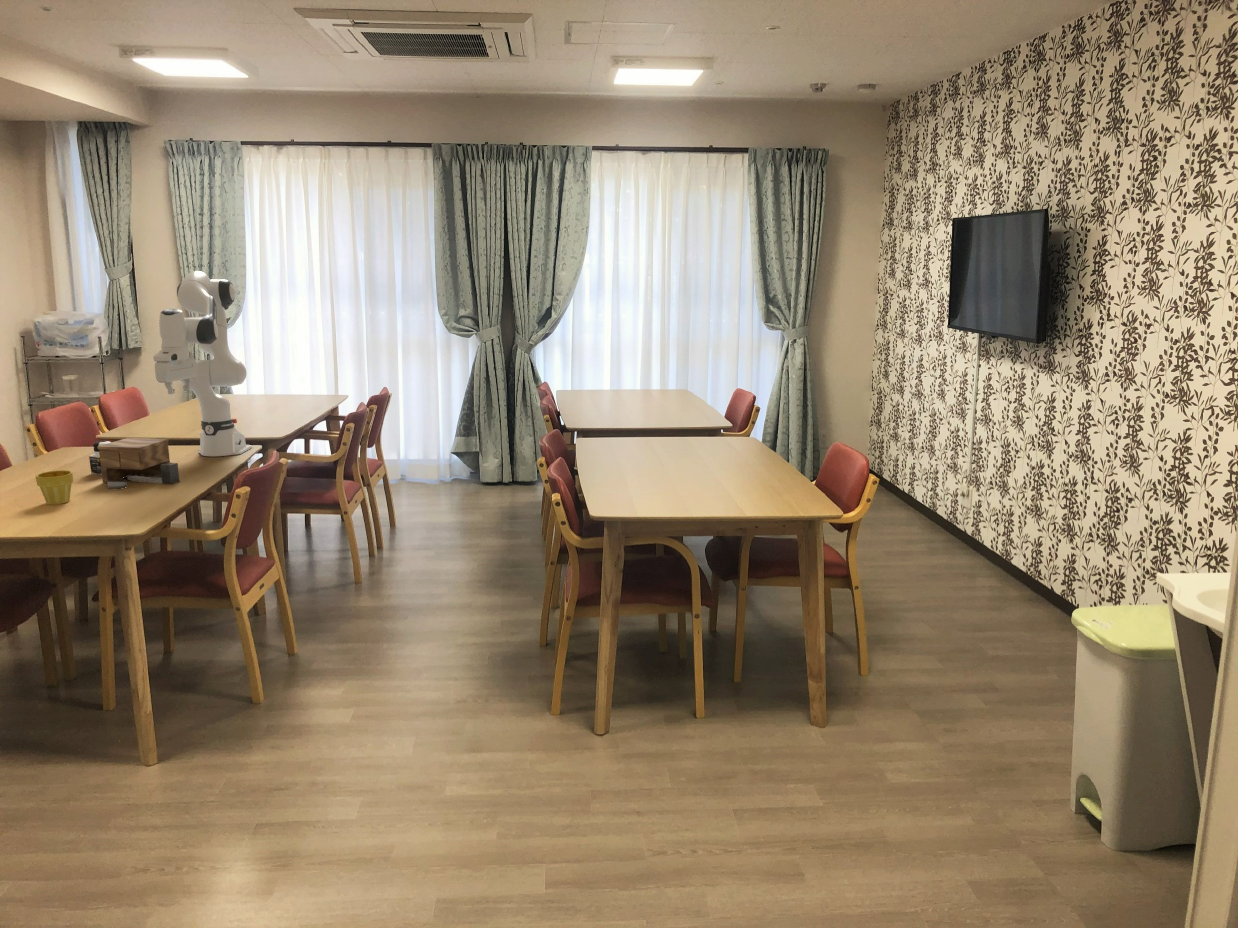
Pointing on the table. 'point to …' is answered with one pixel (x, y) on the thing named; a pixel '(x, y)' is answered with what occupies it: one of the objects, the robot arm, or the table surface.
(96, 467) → the medicine bottle
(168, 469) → the grey mallet
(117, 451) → the cabinet
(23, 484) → the table surface
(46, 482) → the plant pot
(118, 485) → the steel puck
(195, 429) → the table surface
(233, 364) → the robot arm
